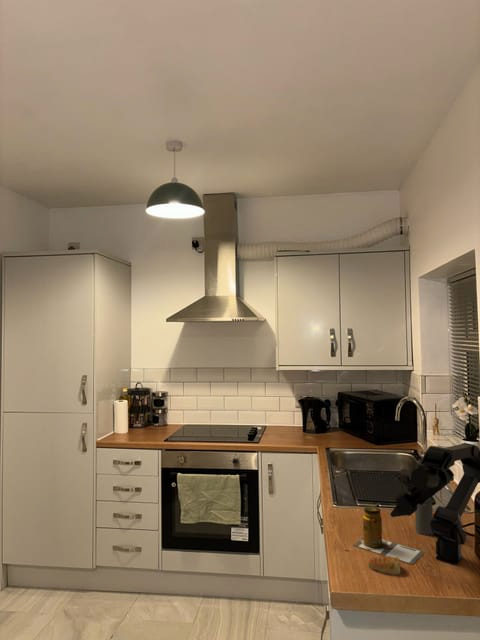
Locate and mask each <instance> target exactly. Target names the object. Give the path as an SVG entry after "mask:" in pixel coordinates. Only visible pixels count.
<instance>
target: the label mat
mask: <svg viewBox="0 0 480 640" xmlns="http://www.w3.org/2000/svg"><path fill="white" fill-rule="evenodd" d="M360 540H364V538H363V537H362V538H361V539H359V540H358V541H357V542H355V543H354V544H353V545H352V546H353V547H354V548H355V547H356V548H358V549H362V550H364V551H367V552H371V553H375V554H377V555H381V556H382V557H384V556H391V557H394V558H396V557H398V558H399V562H403V563H405V564H408V565H411V566H413V565H415V563H416V562H417V561H418V560H419V559H420V557H422V556H423V555H424V553H425V551H424V550H420V549H417V548H413V547H411V546H406V545H403V544H400V543H396V542H394V541H391V540H387V539H384V540H385V541H386V542H387V543H388V545H390V546H391V547H392V548H381V549H367V548H366V547H365V546H364V545H363V544H362V542H361V541H360Z"/></svg>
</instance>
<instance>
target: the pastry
mask: <svg viewBox="0 0 480 640" xmlns="http://www.w3.org/2000/svg"><path fill="white" fill-rule="evenodd" d="M368 566H369V568H370V569H372V570H374V571H377V572H378V573H379V572H380V573H381V574H390V575H395V576H399V575H400V574H401V563H400V561H399V558H398V557H396V558H394V557H391V556H380V557H379V556H376V557H372V558H370V559H369V561H368Z"/></svg>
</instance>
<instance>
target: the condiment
mask: <svg viewBox="0 0 480 640" xmlns="http://www.w3.org/2000/svg"><path fill="white" fill-rule="evenodd" d="M363 510H364V511H363V518H362V521H363V523H362V525H363V528H362V529H363V537H362V538H364V540H361V539H359V540H360V541H361V542H362V544H363V545H364V546H365V547H366V548H367V549H381V548H392V547H391V546H390V545H388V543H387V542H386V541H385V540H386V539H384V538H383V528H382V527H383V525H382V524H383V523H382V520H383V518H382V516H381V515H382V514H381V509H380V508H379V507H377V506H374V505H373V506H372V505H367V506H365V507H364V509H363Z"/></svg>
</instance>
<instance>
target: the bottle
mask: <svg viewBox="0 0 480 640" xmlns="http://www.w3.org/2000/svg"><path fill="white" fill-rule="evenodd" d="M431 499H432V497H431V498H430V499H429V500H428V501H426V502H424V503H423V504H422V505H420V504H419V505H417V510H416V511H415V512H414V515H415V516H414V518H415V519H414V522H415V523H414V525H415V531H416V533H418V534H419V535H422V536H423V535H424V536H430V535H433V534H432V530H431V526H430V521H431V519H432V517H433V514H434V513H433V510H434V509H433V502H432V501H431Z"/></svg>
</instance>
